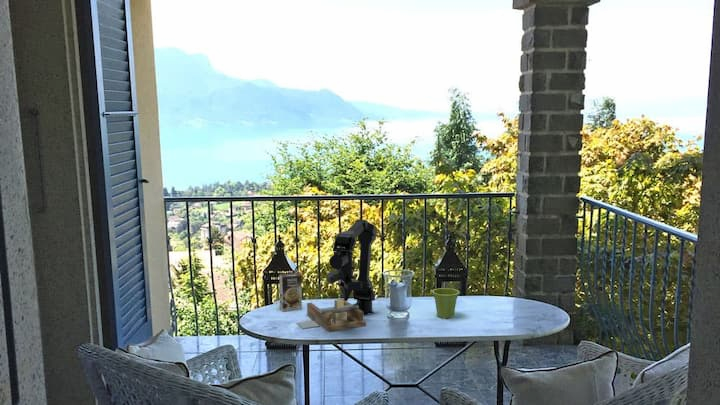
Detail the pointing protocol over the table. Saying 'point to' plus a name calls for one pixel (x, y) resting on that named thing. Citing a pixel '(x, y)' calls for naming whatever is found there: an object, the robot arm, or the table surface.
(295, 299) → the coffee box
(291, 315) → the table surface
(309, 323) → the slate mat
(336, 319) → the beech block
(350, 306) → the latch bar
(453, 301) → the plant pot
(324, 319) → the puzzle board
